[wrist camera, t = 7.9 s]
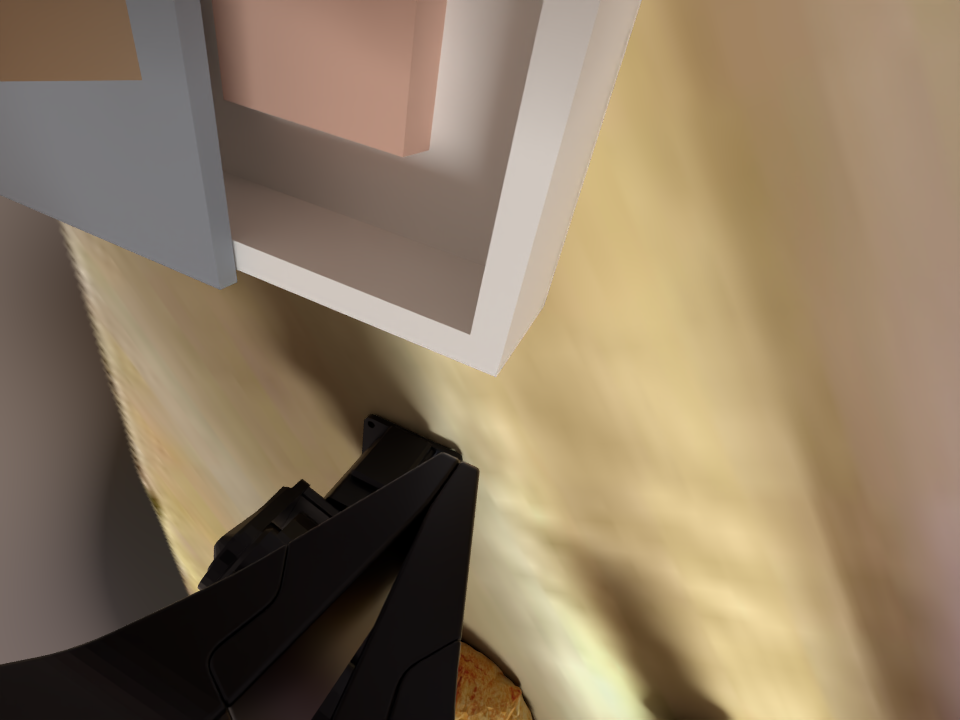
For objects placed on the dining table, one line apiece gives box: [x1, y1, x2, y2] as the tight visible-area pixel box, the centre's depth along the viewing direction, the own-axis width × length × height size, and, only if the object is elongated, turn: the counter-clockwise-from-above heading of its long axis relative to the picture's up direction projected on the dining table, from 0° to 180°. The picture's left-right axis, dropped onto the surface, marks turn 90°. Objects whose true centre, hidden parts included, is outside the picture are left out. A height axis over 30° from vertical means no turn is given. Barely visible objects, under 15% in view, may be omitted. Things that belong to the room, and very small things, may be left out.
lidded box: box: [200, 0, 642, 377], centre depth 15 cm, size 16×18×6 cm
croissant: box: [455, 641, 533, 720], centre depth 38 cm, size 21×10×8 cm, turn 41°
